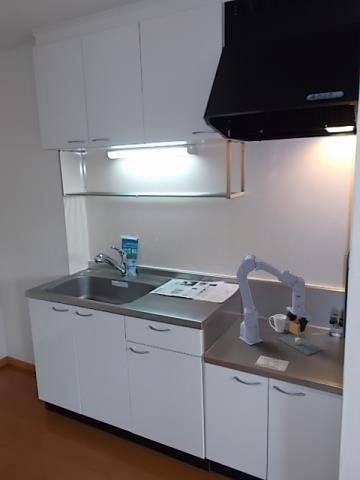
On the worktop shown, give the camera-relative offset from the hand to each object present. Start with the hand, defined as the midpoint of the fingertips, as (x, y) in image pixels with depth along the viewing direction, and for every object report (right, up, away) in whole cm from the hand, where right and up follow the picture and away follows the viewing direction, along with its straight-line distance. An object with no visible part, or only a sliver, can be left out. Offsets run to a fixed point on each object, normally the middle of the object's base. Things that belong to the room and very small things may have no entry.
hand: (297, 329), depth 184 cm
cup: (-5, -5, +19) cm, 20 cm away
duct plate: (+1, -8, +2) cm, 9 cm away
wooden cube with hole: (0, -1, 0) cm, 1 cm away
